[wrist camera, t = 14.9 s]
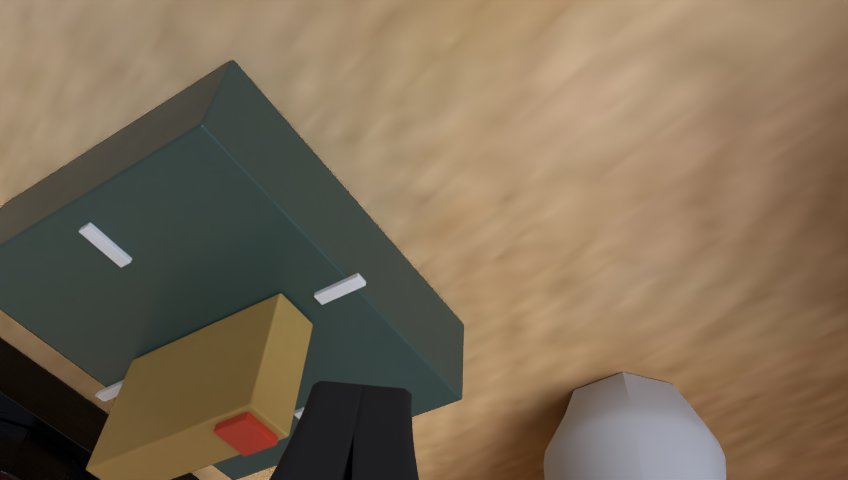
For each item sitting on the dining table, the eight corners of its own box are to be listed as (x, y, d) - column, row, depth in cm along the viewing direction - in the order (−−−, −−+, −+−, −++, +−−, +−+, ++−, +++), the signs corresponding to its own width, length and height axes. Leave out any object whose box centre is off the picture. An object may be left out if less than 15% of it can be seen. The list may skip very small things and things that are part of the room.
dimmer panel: (-5, 208, 23) (-61, 284, 21) (244, 50, 19) (211, 120, 17) (245, 411, 29) (224, 488, 27) (474, 320, 25) (473, 400, 23)
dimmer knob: (166, 386, 23) (122, 505, 20) (132, 359, 23) (80, 478, 20) (314, 324, 21) (287, 446, 18) (281, 291, 20) (248, 413, 18)
